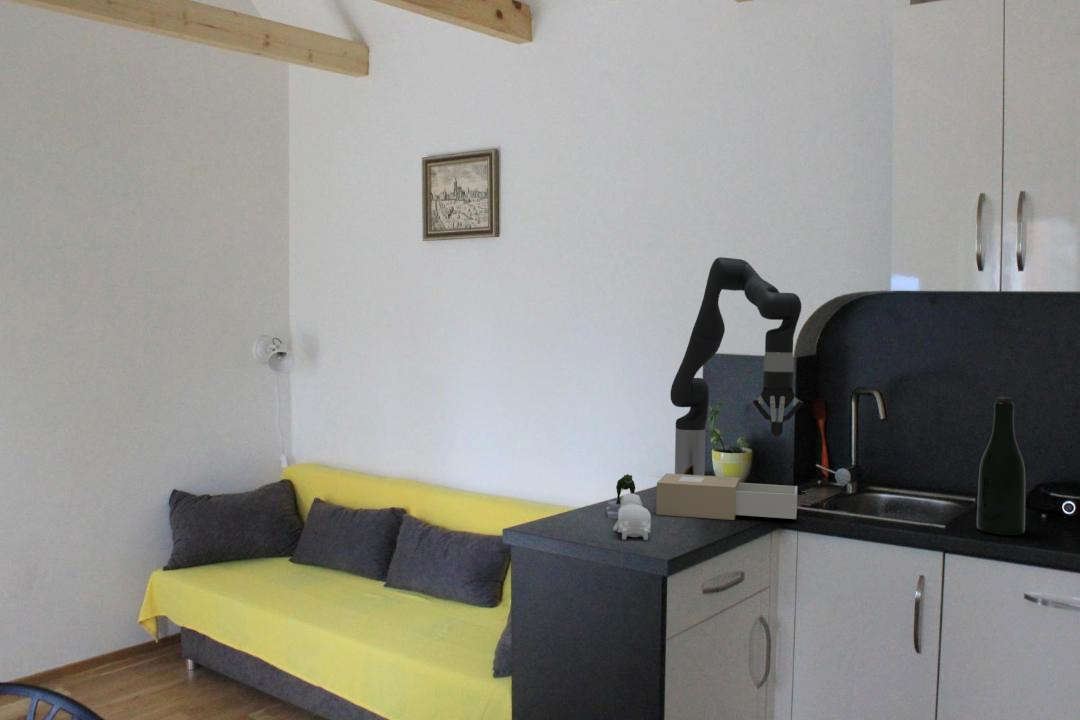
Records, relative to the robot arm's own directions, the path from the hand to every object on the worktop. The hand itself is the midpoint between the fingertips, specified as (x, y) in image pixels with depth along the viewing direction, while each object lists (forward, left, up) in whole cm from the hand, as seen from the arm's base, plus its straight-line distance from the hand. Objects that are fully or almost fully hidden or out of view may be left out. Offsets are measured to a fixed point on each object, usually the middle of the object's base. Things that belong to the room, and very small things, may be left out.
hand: (776, 436), depth 238 cm
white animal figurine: (+33, -31, -21) cm, 50 cm away
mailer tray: (+1, -4, -20) cm, 20 cm away
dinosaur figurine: (+11, -38, -21) cm, 45 cm away
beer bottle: (+1, +53, -21) cm, 57 cm away
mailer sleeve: (+1, -20, -21) cm, 29 cm away
